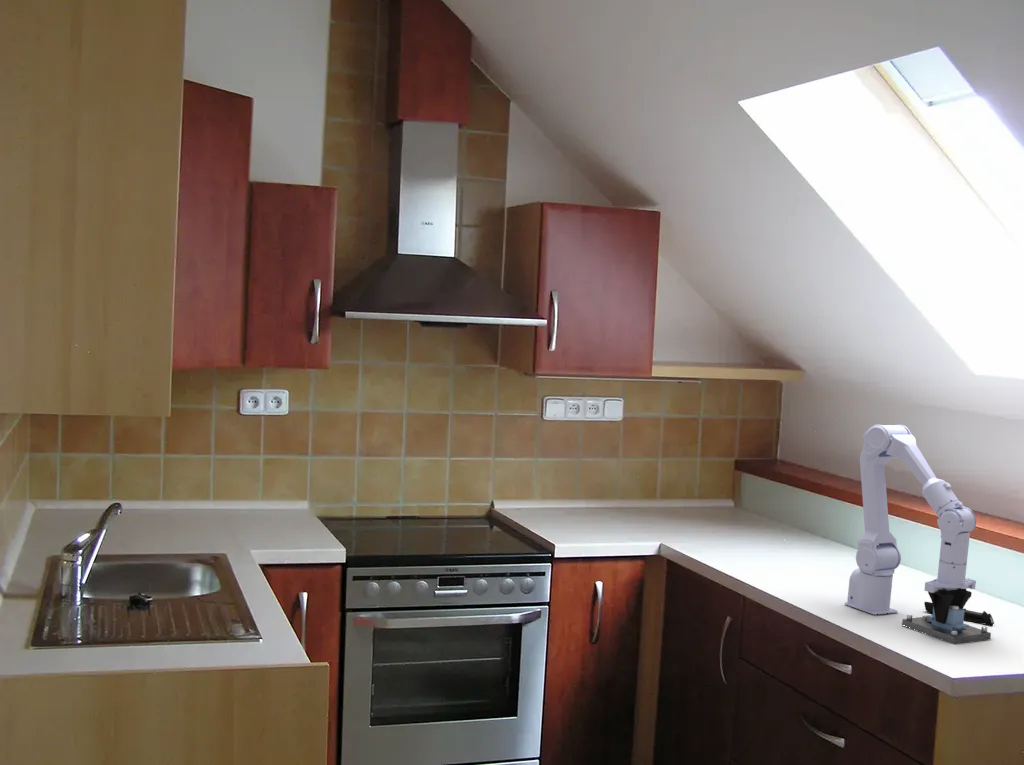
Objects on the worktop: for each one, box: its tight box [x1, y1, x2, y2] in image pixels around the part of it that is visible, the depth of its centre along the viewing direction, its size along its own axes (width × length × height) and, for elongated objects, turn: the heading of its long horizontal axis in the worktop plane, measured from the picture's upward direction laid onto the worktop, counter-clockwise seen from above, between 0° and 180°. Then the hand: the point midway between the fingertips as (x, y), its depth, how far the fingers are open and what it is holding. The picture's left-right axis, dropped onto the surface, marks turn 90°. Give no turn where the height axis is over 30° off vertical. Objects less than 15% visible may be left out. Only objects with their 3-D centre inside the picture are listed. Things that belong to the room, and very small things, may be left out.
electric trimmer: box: [923, 601, 995, 627], centre depth 262 cm, size 4×16×3 cm, turn 58°
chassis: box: [901, 614, 992, 645], centre depth 248 cm, size 14×12×2 cm
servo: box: [927, 605, 970, 631], centre depth 248 cm, size 8×4×6 cm, turn 30°
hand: (946, 621), depth 248 cm, fingers closed on servo, 3 cm apart
